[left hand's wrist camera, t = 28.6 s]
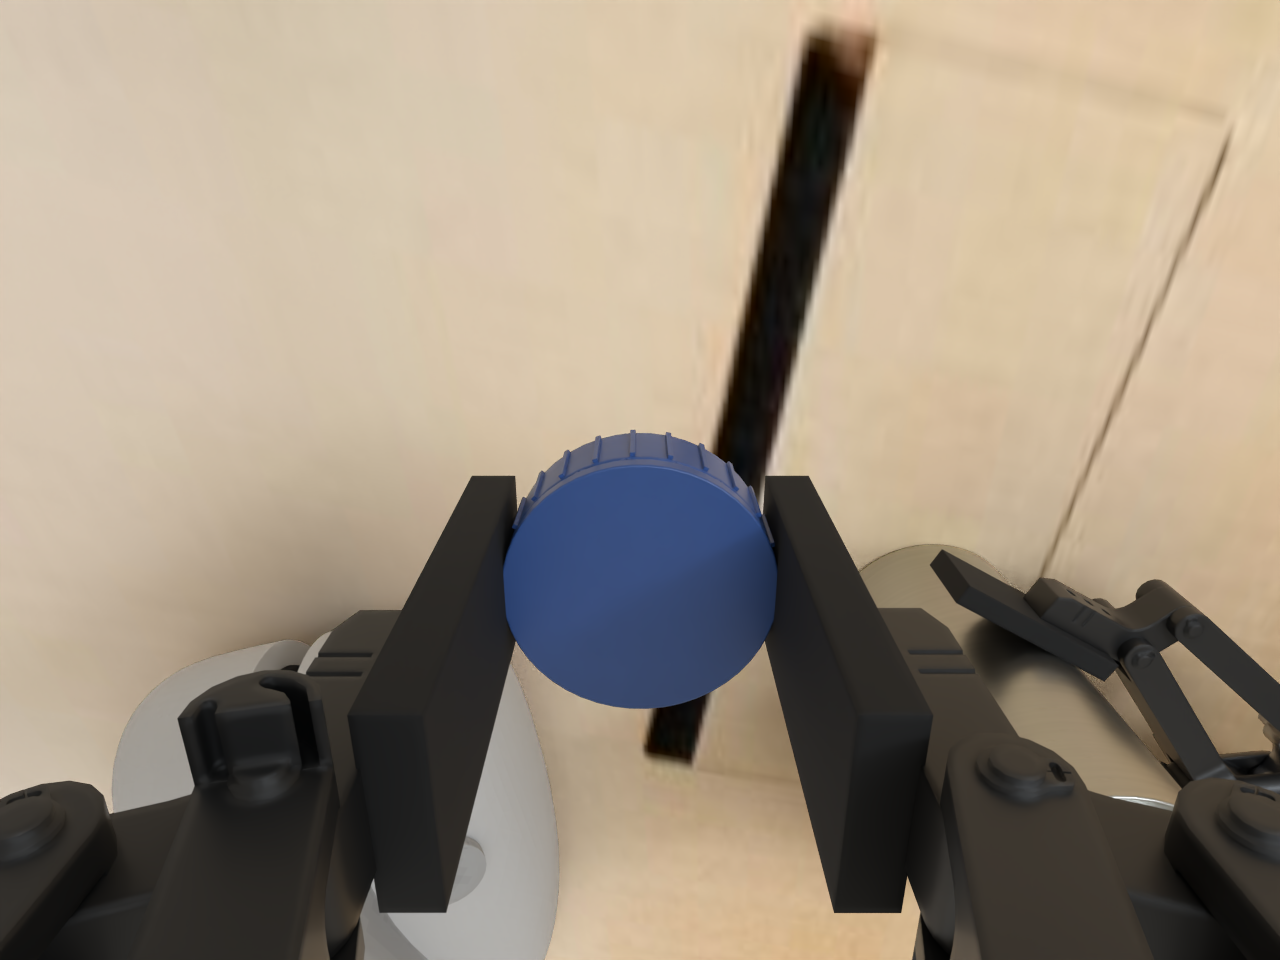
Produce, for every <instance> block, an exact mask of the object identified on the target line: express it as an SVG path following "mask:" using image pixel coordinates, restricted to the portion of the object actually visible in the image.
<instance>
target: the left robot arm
mask: <svg viewBox="0 0 1280 960" xmlns="http://www.w3.org/2000/svg"><path fill="white" fill-rule="evenodd" d="M516 514H517V498H516V482H515V476H472V477H471V479H470V481H469V483H468V485H467V486H466V488H465V490H464V492H463V494H462V496H461V498H460V500H459V502H458V504H457V506H456V508H455V509H454V511H453V513H452V515H451V517H450V519H449V521H448V523H447V525H446V527H445V529H444V531H443V532H442V534H441V536H440V538H439V540H438V542H437V544H436V546H435V548H434V550H433V552H432V554H431V555H430V557H429V559H428V561H427V563H426V565H425V567H424V569H423V571H422V573H421V575H420V577H419V578H418V580H417V582H416V584H415V586H414V588H413V590H412V592H411V594H410V596H409V598H408V600H407V601H406V603H405V605H404V607H403V609H402V610H360V611H358V612H357V613H356V614H354V615H353V616H351V617H350V618H349V619H347V620H346V621H345V622H343V623H342V624H340V625H339V626H338V627H336V628H335V629H334V630H333V631H332V632H331V634H330V635H329V637H328V638H327V640H326V641H325V643H324V644H323V646H322V648H321V649H320V651H319V652H318V657H315V658H314V660H313V662H312V663H311V665H310V666H309V668H308V669H307V671H306V674H302V673H298V672H294V671H291V670H263V671H259V672H254V673H249V674H245V675H240V676H236V677H234V678H232V679H229V680H227V681H225V682H222V683H220V684H217V685H215V686H213V687H211V688H209V689H208V690H206V691H205V692H204V693H202V694H201V695H199V696H198V697H196V698H195V699H194V700H192V701H191V702H190V703H189V704H188V705H187V707H186V708H185V709H184V710H183V712H182V713H181V714H180V716H179V717H178V718H177V720H178V724H179V727H180V731H181V735H182V739H183V743H184V747H185V751H186V754H187V758H188V762H189V766H190V770H191V774H192V778H193V782H194V785H195V786H194V789H193V791H192V794H190V795H186V796H183V797H180V798H176V799H173V800H170V801H165V802H161V803H156V804H152V805H148V806H143V807H139V808H134V809H130V810H125V811H121V812H116V813H112V814H109V812H108V809H107V805H106V802H105V799H104V796H103V795H102V794H101V793H100V792H99V791H98V790H97V789H96V788H94V787H93V786H92V785H90V784H85V783H79V782H74V781H64V782H55V783H47V784H40V785H37V786H34V787H31V788H28V789H25V790H21V791H18V792H15V793H12V794H10V795H8V796H6V797H4V798H2V799H0V960H364V954H365V943H364V936H363V929H362V924H361V918H360V914H361V912H362V909H363V906H364V903H365V901H366V898H367V895H368V892H369V890H370V887H371V884H372V882H373V879H374V883H375V889H376V895H377V901H378V907H379V913H446V912H447V908H448V904H449V900H450V897H451V893H452V889H453V885H454V881H455V877H456V873H457V869H458V865H459V861H460V857H461V853H462V850H463V846H464V842H465V838H466V834H467V830H468V826H469V822H470V818H471V814H472V810H473V806H474V802H475V799H476V795H477V791H478V787H479V783H480V779H481V775H482V771H483V767H484V763H485V759H486V755H487V751H488V748H489V744H490V740H491V736H492V732H493V728H494V724H495V720H496V716H497V712H498V708H499V704H500V701H501V697H502V693H503V689H504V685H505V681H506V677H507V673H508V669H509V665H510V661H511V657H512V653H513V650H514V646H515V642H516V640H515V638H514V636H513V634H512V632H511V630H510V627H509V624H508V622H507V619H506V606H505V592H504V578H503V565H504V561H505V557H506V553H507V550H508V547H509V544H510V541H511V538H512V535H513V532H514V529H513V528H512V526H513V523H514V520H515V517H516ZM763 514H765V517H766V519H767V522H768V525H769V528H770V531H771V534H772V537H773V540H774V543H775V547H772V549H773V551H774V554H775V558H776V563H777V586H776V600H775V613H774V621H773V623H772V626H771V628H770V631H769V634H768V635H767V637H766V639H765V644H766V648H767V651H768V655H769V659H770V663H771V667H772V671H773V675H774V679H775V683H776V687H777V691H778V695H779V698H780V702H781V706H782V710H783V714H784V718H785V722H786V726H787V730H788V734H789V738H790V742H791V746H792V749H793V753H794V757H795V761H796V765H797V769H798V773H799V777H800V781H801V785H802V789H803V793H804V796H805V800H806V804H807V808H808V812H809V816H810V820H811V824H812V828H813V832H814V836H815V840H816V844H817V847H818V851H819V855H820V859H821V863H822V867H823V871H824V875H825V879H826V883H827V887H828V891H829V894H830V898H831V902H832V906H833V910H834V913H901V911H902V905H903V898H904V892H905V886H906V880H907V876H908V879H909V882H910V884H911V887H912V890H913V892H914V895H915V898H916V900H917V903H918V906H919V909H920V911H921V912H920V918H919V924H918V929H917V935H916V941H915V946H914V952H913V958H912V960H1280V795H1279V794H1277V793H1275V792H1273V791H1271V790H1268V789H1265V788H1262V787H1259V786H1255V785H1253V784H1249V783H1246V782H1243V781H1238V780H1230V779H1221V778H1206V779H1201V780H1195V781H1190V782H1189V783H1188V784H1187V785H1186V786H1185V787H1183V788H1182V789H1181V790H1180V791H1179V792H1178V795H1177V798H1176V801H1175V804H1174V808H1173V811H1170V810H1166V809H1161V808H1157V807H1153V806H1148V805H1144V804H1139V803H1135V802H1130V801H1126V800H1121V799H1117V798H1112V797H1109V796H1106V795H1102V794H1099V793H1095V792H1092V791H1089V790H1087V787H1086V785H1085V783H1084V782H1083V780H1082V779H1081V777H1080V776H1079V774H1078V773H1077V771H1076V770H1075V768H1074V767H1073V766H1072V765H1070V764H1069V763H1068V762H1067V761H1065V760H1064V759H1063V758H1062V757H1060V756H1059V755H1058V754H1057V753H1055V752H1054V751H1052V750H1050V749H1048V748H1046V747H1044V746H1042V745H1040V744H1038V743H1036V742H1034V741H1031V740H1029V739H1026V738H1022V737H1019V736H1018V734H1017V733H1016V731H1015V729H1014V728H1013V726H1012V725H1011V723H1010V722H1009V720H1008V719H1007V717H1006V716H1005V714H1004V713H1003V711H1002V709H1001V708H1000V706H999V705H998V703H997V702H996V700H995V699H994V697H993V696H992V694H991V693H990V691H989V689H988V688H987V686H986V685H985V683H984V682H983V680H982V679H981V677H980V676H979V674H976V673H975V668H974V666H973V665H972V663H971V662H970V660H969V659H968V657H967V656H966V655H963V649H962V648H961V646H960V645H959V643H958V642H957V640H956V639H955V637H954V636H953V634H952V633H951V631H950V629H949V628H948V627H947V626H945V625H944V624H943V623H941V622H940V621H939V620H937V619H936V618H934V617H933V616H932V615H930V614H929V613H927V612H926V611H925V610H923V609H922V608H877V606H876V604H875V602H874V600H873V598H872V597H871V595H870V593H869V591H868V589H867V587H866V585H865V583H864V581H863V579H862V577H861V575H860V574H859V572H858V570H857V568H856V566H855V564H854V562H853V560H852V558H851V556H850V554H849V552H848V551H847V549H846V547H845V545H844V543H843V541H842V539H841V537H840V535H839V533H838V531H837V529H836V528H835V526H834V524H833V522H832V520H831V518H830V516H829V514H828V512H827V510H826V508H825V507H824V505H823V503H822V501H821V499H820V497H819V495H818V493H817V491H816V489H815V487H814V485H813V484H812V482H811V480H810V478H809V476H765V491H764V507H763Z"/></svg>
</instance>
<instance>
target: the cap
mask: <svg viewBox="0 0 1280 960" xmlns="http://www.w3.org/2000/svg"><path fill="white" fill-rule="evenodd" d="M512 528H513V529H514V532H513V535H512V538H511V541H510V544H509V547H508V550H507V553H506V557H505V561H504V565H503V578H504V592H505V606H506V619H507V622H508V624H509V627H510V630H511V632H512V634H513V636H514V638H515V640H516V641H517V643H518V645H519V647H520V648H521V649H522V651H523V652H524V654H525V655H526V656H527V658H528V659H529V660H530V661H531V662H532V663H533V664H534V665H535V666H536V668H537V669H538V670H539V671H541V672H542V673H543V674H544V675H545V676H547V677H548V678H549V679H550V680H551V681H553V682H554V683H556V684H558V685H559V686H561V687H562V688H564V689H565V690H567V691H569V692H571V693H574V694H576V695H578V696H580V697H582V698H585V699H588V700H591V701H594V702H596V703H600V704H605V705H609V706H614V707H622V708H633V709H649V708H659V707H666V706H671V705H676V704H681V703H684V702H687V701H690V700H693V699H696V698H698V697H701V696H703V695H705V694H707V693H709V692H711V691H713V690H715V689H717V688H718V687H720V686H721V685H723V684H725V683H726V682H728V681H729V680H730V679H731V678H733V677H734V676H735V675H737V674H738V673H739V672H740V671H741V670H742V669H743V668H744V667H745V666H746V665H747V664H748V663H749V662H750V661H751V660H752V658H753V657H754V656H755V654H756V653H757V652H758V650H759V649H760V648H761V646H762V644H763V642H764V641H765V639H766V637H767V635H768V634H769V631H770V628H771V626H772V623H773V621H774V613H775V600H776V586H777V563H776V558H775V554H774V551H773V549H772V547H775V543H774V540H773V537H772V534H771V531H770V528H769V525H768V522H767V519H766V517H765V514H763V515H762V514H761V511H760V508H759V505H758V502H757V499H756V496H755V493H754V490H753V488H752V487H751V486H749V487H747V486H746V484H745V483H744V482H743V480H742V479H741V478H740V476H739V475H738V474H737V473H736V472H735V471H734V469H733V466H732V464H731V463H730V462H729V461H728V462H727V463H725V462H723V461H722V460H721V459H720V458H718V457H717V456H716V455H714V454H712V453H711V452H709V451H707V450H705V447H704V445H703V444H701V443H699V445H698V446H697V445H695V444H693V443H690V442H688V441H685V440H682V439H678V438H676V437H671V433H668V432H666V435H659V434H652V433H636V431H635V430H631V431H630V433H629V434H621V435H614V436H610V437H606V438H602V439H601V436H597V437H596V439H595V441H593V442H590V443H588V444H585V445H583V446H581V447H579V448H577V449H575V450H573V451H572V452H570V451H569V450H567V451H565V452H564V456H563V457H562V458H561V459H560V460H558V461H557V462H556V463H554V464H553V465H552V466H551V467H550V468H549V469H548V470H547V471H546V472H545V473H544V472H543V471H541V472H540V473H539V475H538V479H537V482H536V484H535V485H534V486H533V488H532V489H531V491H530V493H529V495H528V496H527V498H525V497H523V498H522V500H521V503H520V506H519V508H518V511H517V514H516V517H515V520H514V523H513V526H512Z"/></svg>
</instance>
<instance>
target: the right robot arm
mask: <svg viewBox="0 0 1280 960" xmlns="http://www.w3.org/2000/svg"><path fill="white" fill-rule="evenodd" d="M930 566H931V568H932V569H933V571H934V572H935V574H936V575H937V576H938V578H939V579H940V581H941V582H942V584H943V585H944V587H945V588H946V589H947V591H948V592H949V594H950V595H951V597H952V598H953V599H954V601H955V602H956V603H957V604H959V605H961V606H962V607H964V608H966V609H968V610H970V611H972V612H974V613H976V614H978V615H979V616H981V617H983V618H985V619H987V620H989V621H991V622H993V623H995V624H997V625H998V626H1000V627H1002V628H1004V629H1006V630H1008V631H1010V632H1012V633H1014V634H1015V635H1017V636H1019V637H1021V638H1023V639H1025V640H1027V641H1029V642H1031V643H1033V644H1034V645H1036V646H1038V647H1040V648H1042V649H1044V650H1046V651H1048V652H1050V653H1051V654H1053V655H1055V656H1057V657H1059V658H1061V659H1063V660H1065V661H1067V662H1068V663H1070V664H1072V665H1074V666H1076V667H1078V668H1080V669H1082V670H1084V671H1086V672H1087V673H1089V674H1091V675H1093V676H1095V677H1097V678H1099V679H1101V680H1103V681H1105V680H1106V679H1107V678H1108V677H1109V676H1110V675H1111V674H1112V673H1113V672H1114V671H1116V672H1117V674H1118V676H1119V677H1120V679H1121V681H1122V682H1123V684H1124V685H1125V687H1126V689H1127V690H1128V692H1129V694H1130V695H1131V697H1132V699H1133V700H1134V702H1135V703H1136V705H1137V707H1138V708H1139V710H1140V712H1141V713H1142V715H1143V716H1144V718H1145V720H1146V721H1147V723H1148V725H1149V726H1150V728H1151V729H1152V731H1153V733H1154V734H1153V736H1154V738H1155V740H1156V741H1157V743H1158V744H1159V746H1160V748H1161V749H1162V751H1163V753H1164V754H1165V756H1166V757H1167V759H1168V761H1169V762H1170V764H1168V765H1167V764H1165V763H1163V762H1161V763H1160V764H1161V765H1162V766H1163V767H1164V768H1165V770H1166V771H1167V772H1168V773H1169V774H1170V775H1171V777H1172V778H1173V779H1174V780H1175V781H1176V783H1177V784H1178V785H1179V786H1180V787H1181V788H1183V787H1185V786H1186V785H1187V784H1188V783H1189V782H1190V781H1195V780H1201V779H1206V778H1221V779H1230V780H1238V781H1243V782H1246V783H1249V784H1253V785H1255V786H1259V787H1262V788H1265V789H1268V790H1271V791H1273V792H1275V793H1277V794H1279V795H1280V684H1279V683H1278V682H1277V681H1276V680H1274V679H1273V678H1272V677H1271V676H1270V675H1269V674H1268V673H1267V672H1266V671H1265V670H1264V669H1263V668H1262V667H1260V666H1259V665H1258V664H1257V663H1256V662H1255V661H1254V660H1253V659H1252V658H1251V657H1250V656H1249V655H1248V654H1246V653H1245V652H1244V651H1243V650H1242V649H1241V648H1240V647H1239V646H1238V645H1237V644H1236V643H1235V642H1234V641H1232V640H1231V639H1230V638H1229V637H1228V636H1227V635H1226V634H1225V633H1224V632H1223V631H1222V630H1221V629H1220V628H1218V627H1217V626H1216V625H1215V624H1214V623H1213V622H1212V621H1211V620H1210V619H1209V618H1208V617H1206V616H1205V615H1204V614H1203V613H1202V612H1200V611H1199V610H1198V609H1197V608H1196V607H1194V606H1193V605H1192V604H1191V603H1190V602H1188V601H1187V600H1186V599H1185V598H1183V597H1182V596H1181V595H1180V594H1179V593H1177V592H1176V591H1175V590H1174V589H1173V588H1171V587H1170V586H1169V585H1168V584H1167V583H1165V582H1163V581H1162V580H1155V579H1154V580H1150V581H1147V582H1146V583H1144V584H1142V585H1141V586H1140V588H1139V589H1138V590H1137V593H1136V600H1135V601H1134V602H1132V603H1130V604H1129V605H1127V606H1125V607H1122V608H1117V609H1115V608H1114V607H1113V606H1112V605H1111V604H1110V603H1109V602H1107V601H1106V600H1104V599H1101V598H1100V599H1093V600H1091V599H1089V598H1088V597H1086V596H1084V595H1082V594H1080V593H1078V592H1076V591H1075V590H1073V589H1071V588H1069V587H1067V586H1066V585H1064V584H1062V583H1060V582H1058V581H1057V580H1055V579H1048V578H1039V579H1038V580H1037V582H1036V583H1035V584H1034V585H1033V586H1032V588H1031V589H1030V590H1029V591H1028V592H1027V593H1026V594H1024V593H1022V592H1020V591H1019V590H1017V589H1015V588H1013V587H1011V586H1009V585H1008V584H1006V583H1004V582H1002V581H1000V580H998V579H996V578H995V577H993V576H991V575H989V574H987V573H985V572H984V571H982V570H980V569H978V568H976V567H974V566H972V565H971V564H969V563H967V562H965V561H963V560H961V559H960V558H958V557H956V556H954V555H952V554H950V553H948V552H947V551H945V550H943V549H942V550H941V551H940V552H939V553H938V555H937V556H936V557H935V559H934V560H933V561H932V562H931V564H930ZM1177 641H1179V642H1181V643H1182V644H1183V645H1184V646H1185V647H1186V648H1187V649H1188V650H1189V651H1191V652H1192V653H1193V654H1194V655H1195V656H1196V657H1197V658H1198V659H1199V660H1200V661H1202V662H1203V663H1204V664H1205V665H1206V666H1207V667H1208V668H1209V669H1210V670H1212V671H1213V672H1214V673H1215V674H1216V675H1217V676H1218V677H1219V678H1220V679H1222V680H1223V681H1224V682H1225V683H1226V684H1227V685H1228V686H1229V687H1230V688H1231V689H1233V690H1234V691H1235V692H1236V693H1237V694H1238V695H1239V696H1240V697H1241V698H1243V699H1244V700H1245V701H1246V702H1247V703H1248V704H1249V705H1250V706H1251V707H1253V708H1254V709H1255V710H1256V711H1257V712H1258V713H1259V715H1258V719H1259V720H1260V721H1261V722H1262V723H1263V724H1264V728H1263V734H1264V735H1265V736H1266V737H1267V738H1268V739H1269V740H1270V741H1271V742H1272V743H1273V749H1272V751H1271V752H1270V751H1251V752H1240V753H1229V754H1218V752H1217V751H1216V749H1215V747H1214V745H1213V744H1212V742H1211V740H1210V739H1209V737H1208V735H1207V733H1206V732H1205V730H1204V728H1203V727H1202V725H1201V723H1200V721H1199V720H1198V718H1197V716H1196V715H1195V713H1194V711H1193V709H1192V708H1191V706H1190V704H1189V703H1188V701H1187V699H1186V697H1185V696H1184V694H1183V692H1182V691H1181V689H1180V687H1179V685H1178V684H1177V682H1176V680H1175V678H1174V677H1173V675H1172V673H1171V672H1170V670H1169V668H1168V666H1167V665H1166V663H1165V661H1164V660H1163V658H1162V656H1161V654H1160V653H1159V652H1160V651H1162V650H1164V649H1165V648H1167V647H1169V646H1170V645H1172V644H1174V643H1175V642H1177Z"/></svg>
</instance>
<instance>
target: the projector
mask: <svg viewBox="0 0 1280 960" xmlns="http://www.w3.org/2000/svg"><path fill="white" fill-rule="evenodd" d="M331 632H332V631H330V632H327V633H325V634H323V635H322V636H320V637H319V638H318V639H317V640H316V641H315V642H314V643H313V645H312V646H311V647H310V646H309V645H307V644H306V643H304V642H301V641H297V640H282V641H277V642H273V643H268V644H263V645H258V646H254V647H249V648H245V649H241V650H236V651H232V652H229V653H225V654H221V655H217V656H214V657H211V658H208V659H205V660H202V661H199V662H196V663H194V664H192V665H189V666H187V667H185V668H183V669H181V670H179V671H177V672H176V673H174V674H173V675H171V676H170V677H168V678H167V679H165V680H164V681H163V682H162V683H161V684H159V685H158V686H157V687H156V688H155V689H153V690H152V691H151V692H150V694H149V695H148V696H147V697H146V698H145V699H144V700H143V701H142V702H141V703H140V705H139V706H138V707H137V709H136V710H135V711H134V713H133V715H132V716H131V718H130V720H129V722H128V724H127V726H126V727H125V729H124V732H123V734H122V737H121V740H120V743H119V746H118V749H117V753H116V758H115V762H114V767H113V779H112V800H113V810H114V813H116V812H121V811H125V810H130V809H134V808H139V807H143V806H148V805H152V804H156V803H161V802H165V801H170V800H173V799H176V798H180V797H183V796H186V795H190V794H192V791H193V789H194V786H195V785H194V782H193V778H192V774H191V770H190V766H189V762H188V758H187V754H186V751H185V747H184V743H183V739H182V735H181V731H180V727H179V724H178V720H177V718H178V717H179V716H180V714H181V713H182V712H183V710H184V709H185V708H186V707H187V705H188V704H189V703H190V702H191V701H192V700H194V699H195V698H196V697H198V696H199V695H201V694H202V693H204V692H205V691H206V690H208V689H209V688H211V687H213V686H215V685H217V684H220V683H222V682H225V681H227V680H229V679H232V678H234V677H236V676H240V675H245V674H249V673H254V672H259V671H263V670H291V671H294V672H298V673H302V674H306V671H307V669H308V668H309V666H310V665H311V663H312V662H313V660H314V658H315V657H318V652H319V651H320V649H321V648H322V646H323V644H324V643H325V641H326V640H327V638H328V637H329V635H330V634H331ZM558 892H559V843H558V834H557V825H556V816H555V810H554V804H553V799H552V793H551V787H550V782H549V778H548V773H547V769H546V765H545V761H544V756H543V753H542V749H541V746H540V742H539V738H538V735H537V731H536V728H535V725H534V722H533V718H532V715H531V712H530V709H529V706H528V703H527V701H526V698H525V695H524V692H523V689H522V687H521V685H520V682H519V680H518V678H517V675H516V673H515V671H514V668H513V667H512V665H511V663H510V665H509V669H508V673H507V677H506V681H505V685H504V689H503V693H502V697H501V701H500V704H499V708H498V712H497V716H496V720H495V724H494V728H493V732H492V736H491V740H490V744H489V748H488V751H487V755H486V759H485V763H484V767H483V771H482V775H481V779H480V783H479V787H478V791H477V795H476V799H475V802H474V806H473V810H472V814H471V818H470V822H469V826H468V830H467V834H466V838H465V842H464V846H463V850H462V853H461V857H460V861H459V865H458V869H457V873H456V877H455V881H454V885H453V889H452V893H451V897H450V900H449V904H448V908H447V912H446V913H379V907H378V901H377V895H376V889H375V883H374V879H373V882H372V884H371V887H370V890H369V892H368V895H367V898H366V901H365V903H364V906H363V909H362V912H361V914H360V918H361V924H362V929H363V936H364V943H365V954H364V960H545V957H546V954H547V950H548V947H549V944H550V941H551V937H552V932H553V928H554V923H555V917H556V911H557V902H558Z"/></svg>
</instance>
